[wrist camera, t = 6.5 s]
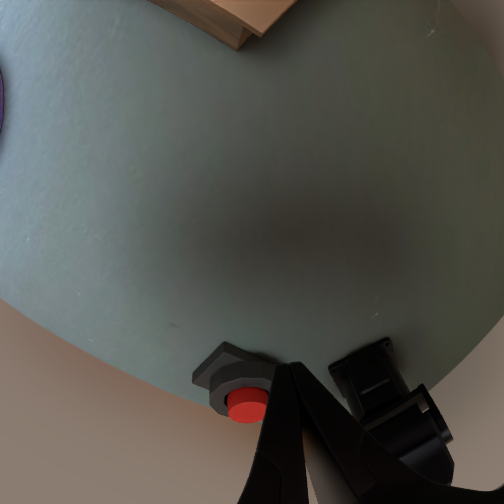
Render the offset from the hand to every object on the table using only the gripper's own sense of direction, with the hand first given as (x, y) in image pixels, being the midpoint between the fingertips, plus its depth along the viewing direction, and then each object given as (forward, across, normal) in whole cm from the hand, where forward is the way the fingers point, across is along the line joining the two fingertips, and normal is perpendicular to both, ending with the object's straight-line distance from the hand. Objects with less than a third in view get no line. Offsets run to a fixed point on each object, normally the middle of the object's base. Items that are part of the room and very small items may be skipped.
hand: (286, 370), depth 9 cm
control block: (+11, +1, +14) cm, 18 cm away
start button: (+9, +1, +14) cm, 17 cm away
